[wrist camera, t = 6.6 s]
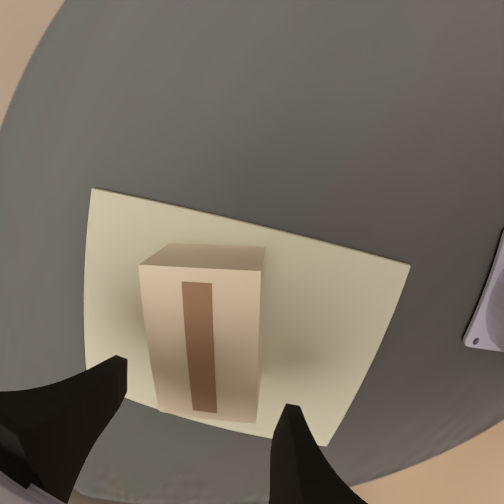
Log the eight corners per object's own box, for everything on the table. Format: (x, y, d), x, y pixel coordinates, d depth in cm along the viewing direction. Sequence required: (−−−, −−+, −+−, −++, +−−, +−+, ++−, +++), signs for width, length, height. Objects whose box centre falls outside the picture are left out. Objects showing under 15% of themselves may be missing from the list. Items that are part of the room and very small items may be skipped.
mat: (408, 263, 16) (410, 266, 15) (326, 442, 19) (326, 446, 19) (95, 187, 16) (91, 188, 16) (89, 378, 20) (87, 381, 20)
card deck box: (261, 377, 18) (255, 424, 14) (179, 370, 18) (158, 412, 14) (266, 246, 16) (260, 271, 12) (169, 243, 16) (137, 265, 12)
